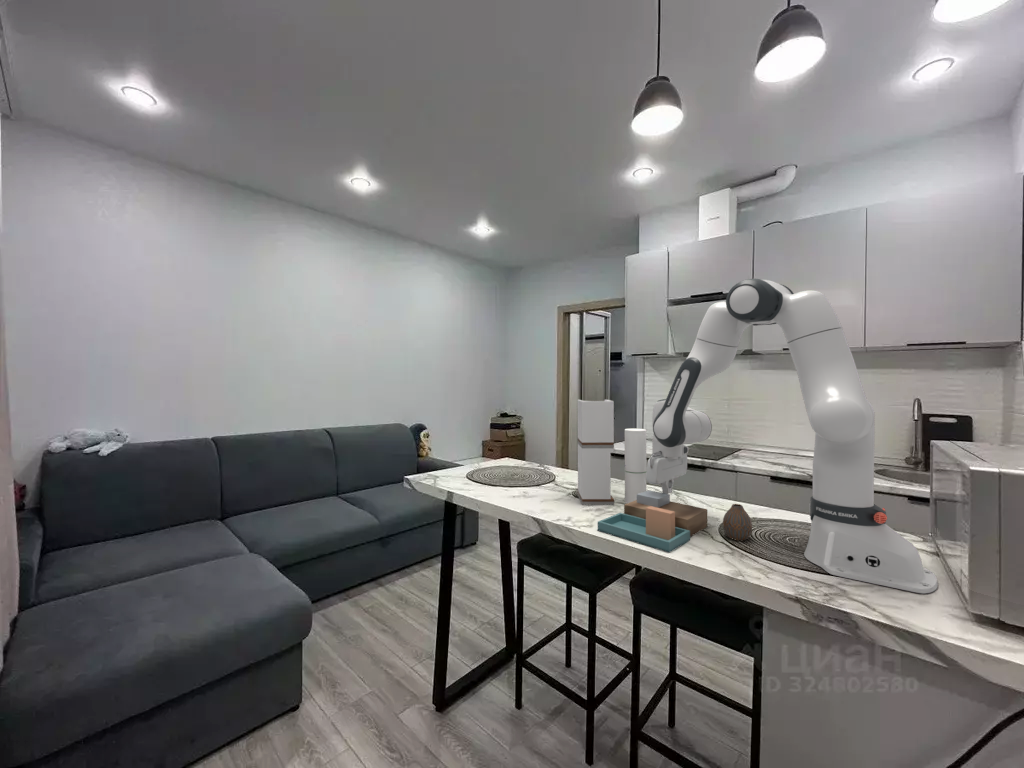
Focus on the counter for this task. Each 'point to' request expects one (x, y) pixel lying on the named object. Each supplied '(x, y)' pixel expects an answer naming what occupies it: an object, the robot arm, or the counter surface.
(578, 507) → the counter surface
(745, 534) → the vase
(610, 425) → the white stacked pillar
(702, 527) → the block
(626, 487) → the cylindrical container
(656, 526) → the terracotta tile
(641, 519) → the tray
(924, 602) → the counter surface
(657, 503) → the slate tile
